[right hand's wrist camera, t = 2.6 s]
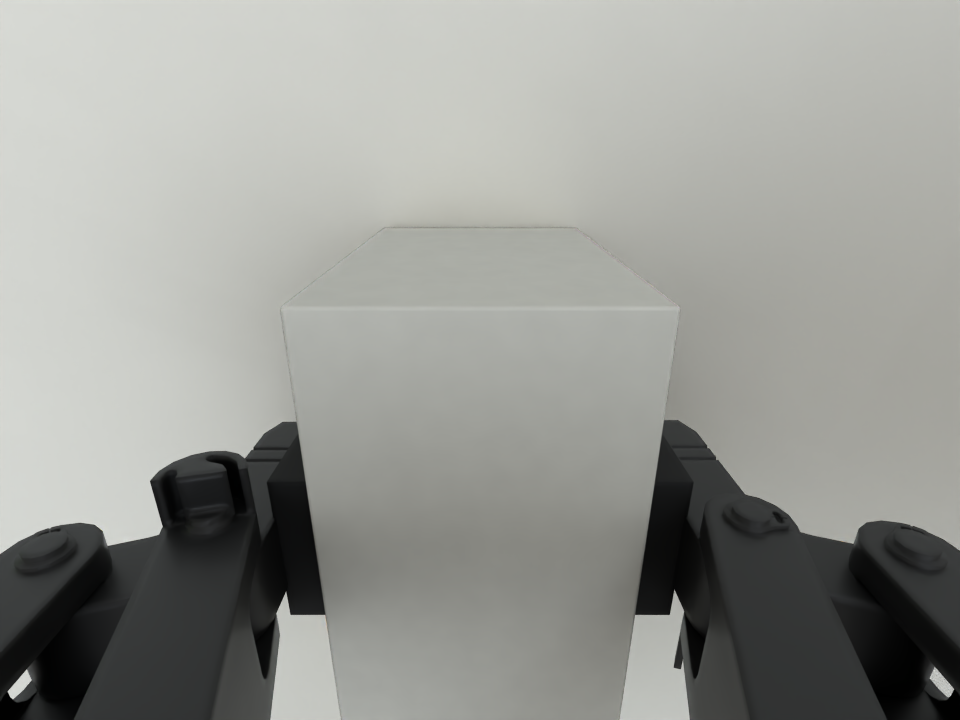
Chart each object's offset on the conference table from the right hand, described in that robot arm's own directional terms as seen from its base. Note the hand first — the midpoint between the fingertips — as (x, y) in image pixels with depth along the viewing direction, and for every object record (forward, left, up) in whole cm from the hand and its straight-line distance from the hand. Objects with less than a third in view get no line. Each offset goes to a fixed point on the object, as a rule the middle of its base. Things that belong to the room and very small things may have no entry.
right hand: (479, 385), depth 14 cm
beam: (-13, +22, -1) cm, 25 cm away
